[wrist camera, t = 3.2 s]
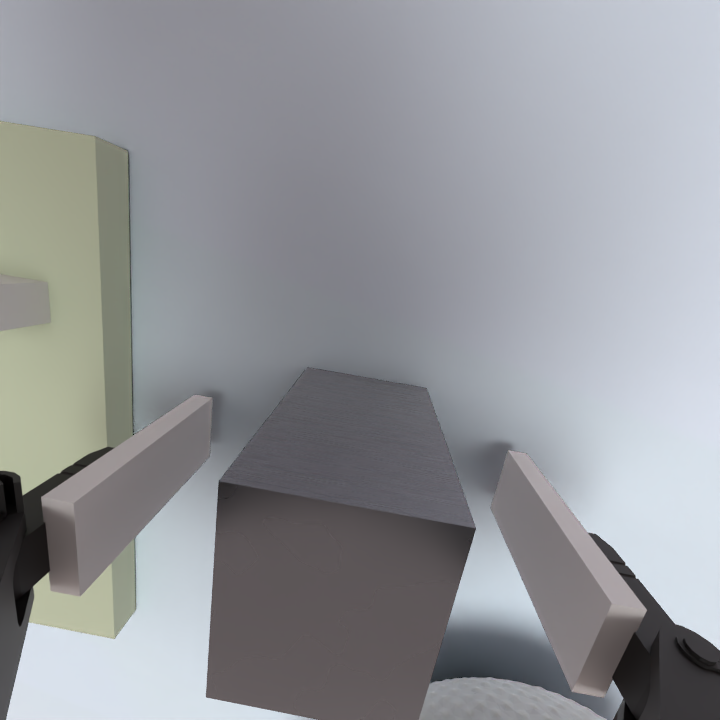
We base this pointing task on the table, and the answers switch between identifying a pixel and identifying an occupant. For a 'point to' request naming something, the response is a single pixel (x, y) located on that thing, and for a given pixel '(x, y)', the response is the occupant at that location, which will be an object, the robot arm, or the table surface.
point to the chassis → (65, 333)
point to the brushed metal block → (337, 553)
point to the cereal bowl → (498, 702)
